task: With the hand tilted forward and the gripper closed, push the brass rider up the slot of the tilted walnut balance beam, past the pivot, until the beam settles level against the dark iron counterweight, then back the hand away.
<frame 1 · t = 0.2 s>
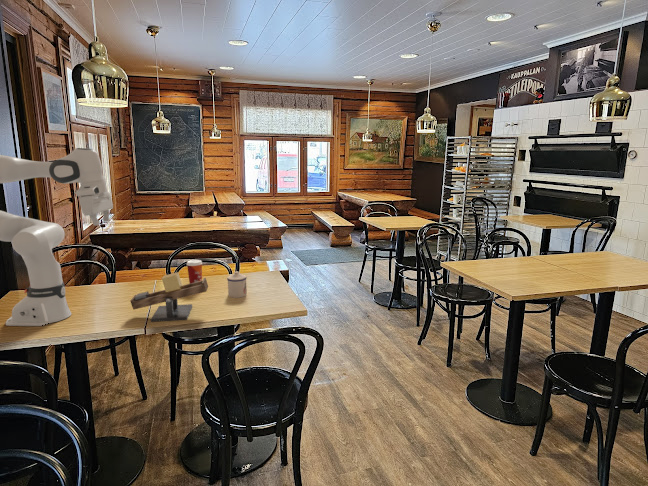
hand: (101, 223, 170), 39 cm above the table, tool pointing down, fingers open, 8 cm apart
stand: (172, 313, 178), on the table
counterweight: (143, 300, 175), point 6 cm above the table, tilted 12°, touching beam
teacup with lid: (237, 294, 203), on the table
paper cup: (196, 288, 212), on the table
beam: (170, 294, 176), point 9 cm above the table, hinge at -11.9°, touching counterweight, rider
rider: (175, 293, 176), point 9 cm above the table, tilted 12°, touching beam
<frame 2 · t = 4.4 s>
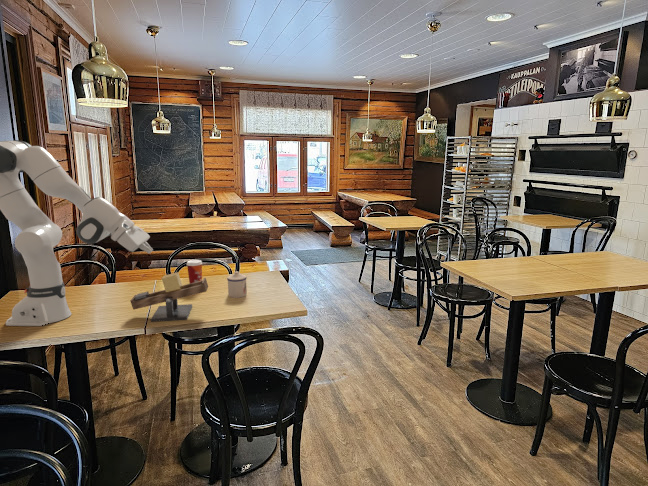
hand: (151, 251, 171), 27 cm above the table, tool tilted 45°, fingers closed
nothing on the table moved.
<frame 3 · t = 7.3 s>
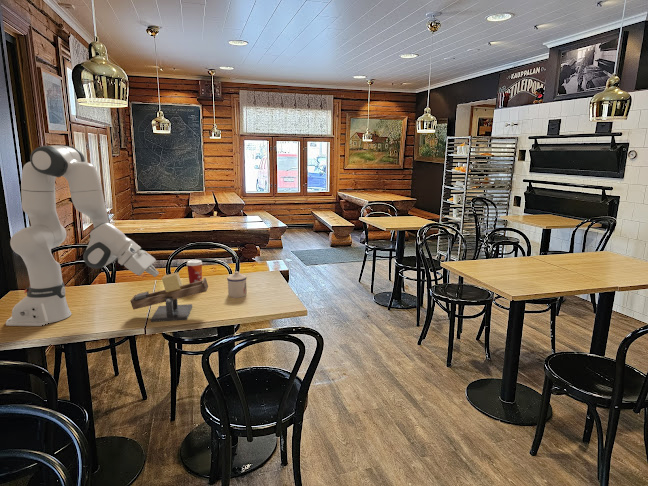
hand: (157, 275, 173), 18 cm above the table, tool tilted 45°, fingers closed
nothing on the table moved.
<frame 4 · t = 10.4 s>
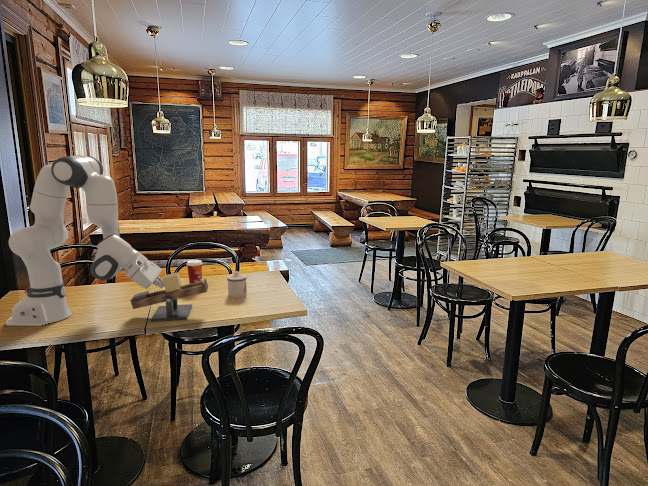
hand: (164, 286, 175), 12 cm above the table, tool tilted 45°, fingers closed, pressing on rider
beam: (170, 294, 176), point 9 cm above the table, hinge at -10.9°, touching counterweight, rider
rider: (175, 293, 176), point 9 cm above the table, tilted 11°, touching beam, gripper
everything else where it was.
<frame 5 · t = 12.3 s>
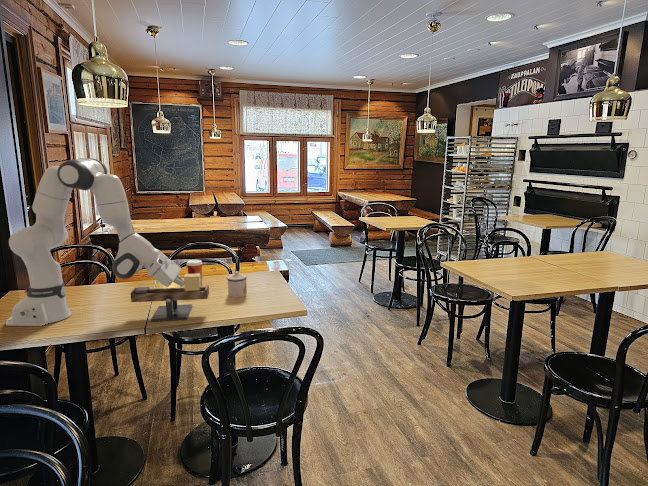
hand: (183, 284, 176), 13 cm above the table, tool tilted 45°, fingers closed, pressing on rider
counterweight: (143, 295, 174), point 9 cm above the table, touching beam
beam: (171, 294, 176), point 9 cm above the table, hinge at 0.6°, touching counterweight, rider
rider: (193, 293, 177), point 9 cm above the table, touching beam, gripper
everything else where it was.
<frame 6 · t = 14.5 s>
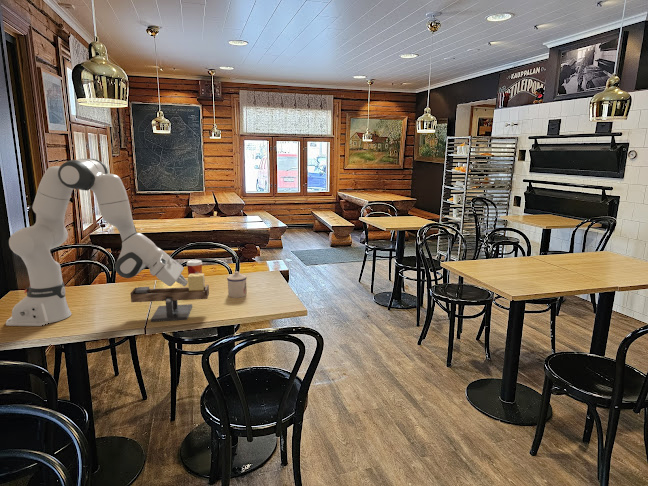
hand: (186, 284, 176), 13 cm above the table, tool tilted 45°, fingers closed
rider: (197, 293, 178), point 9 cm above the table, touching beam
everything else where it was.
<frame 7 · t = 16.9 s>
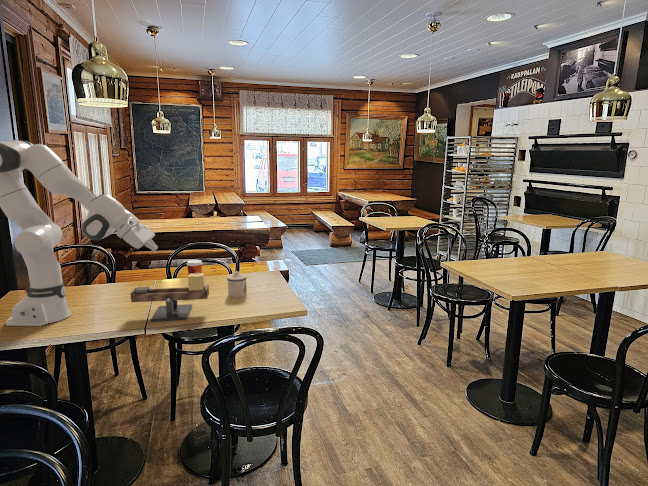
hand: (156, 249, 171), 28 cm above the table, tool tilted 45°, fingers closed
nothing on the table moved.
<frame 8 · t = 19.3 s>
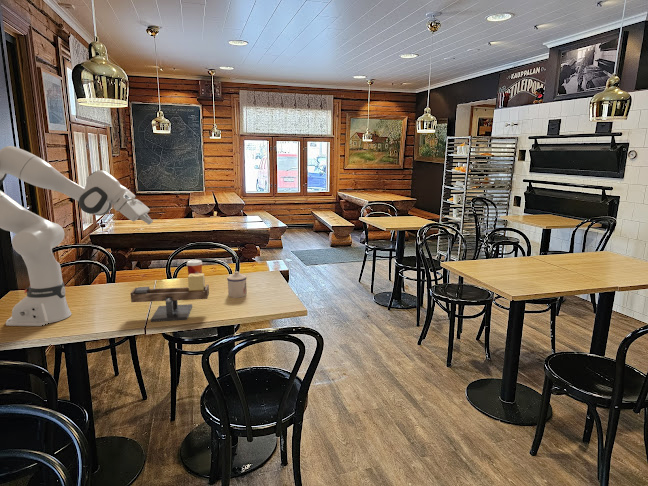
hand: (151, 222, 180), 37 cm above the table, tool tilted 45°, fingers closed
nothing on the table moved.
at the end: beam at +0° (first picture: -12°); rider 0.6 cm from the target spot on the beam, point 0.7 cm above the beam's base; the gripper is holding nothing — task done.
